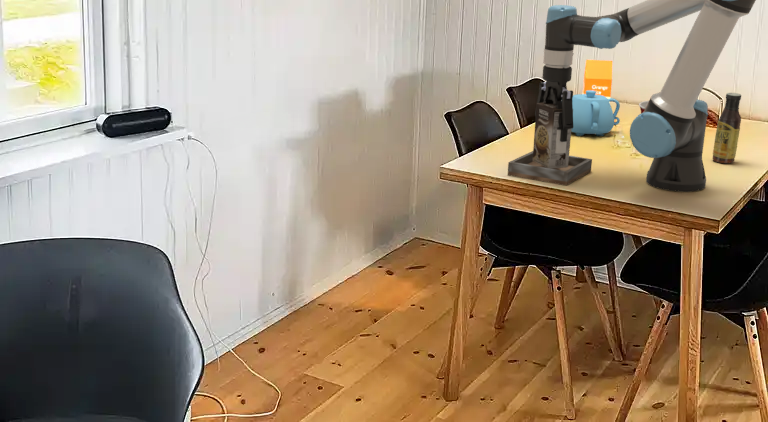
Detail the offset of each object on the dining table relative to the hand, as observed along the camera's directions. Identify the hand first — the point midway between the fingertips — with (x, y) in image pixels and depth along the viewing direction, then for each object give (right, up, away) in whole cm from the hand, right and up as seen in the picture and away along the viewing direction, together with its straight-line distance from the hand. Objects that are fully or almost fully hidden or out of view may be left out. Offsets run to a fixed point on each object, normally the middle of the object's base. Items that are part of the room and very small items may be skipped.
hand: (551, 148), depth 270 cm
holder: (0, -7, +2) cm, 7 cm away
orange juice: (+26, +14, +69) cm, 75 cm away
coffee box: (0, -4, +1) cm, 4 cm away
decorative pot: (+20, +8, +50) cm, 54 cm away
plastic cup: (+38, +4, +39) cm, 55 cm away
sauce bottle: (+53, -3, +18) cm, 56 cm away
